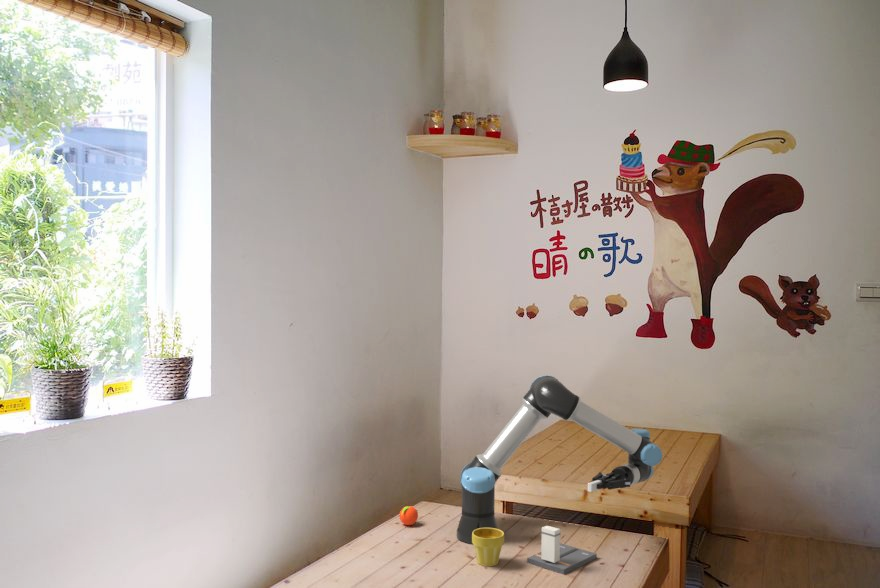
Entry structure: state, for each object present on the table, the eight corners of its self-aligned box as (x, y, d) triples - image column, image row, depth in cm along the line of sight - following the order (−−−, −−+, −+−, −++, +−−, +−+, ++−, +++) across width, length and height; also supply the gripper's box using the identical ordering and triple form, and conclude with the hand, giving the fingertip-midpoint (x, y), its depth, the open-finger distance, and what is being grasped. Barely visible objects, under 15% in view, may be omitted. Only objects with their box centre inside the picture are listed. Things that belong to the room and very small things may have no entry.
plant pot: (502, 570, 233) (502, 539, 233) (469, 567, 236) (469, 536, 235) (505, 558, 244) (505, 528, 244) (474, 555, 246) (474, 526, 246)
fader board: (527, 562, 240) (527, 557, 240) (560, 547, 254) (560, 542, 254) (563, 574, 230) (563, 569, 230) (596, 558, 244) (596, 553, 244)
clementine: (409, 529, 271) (409, 510, 271) (393, 526, 275) (394, 507, 275) (421, 524, 278) (421, 505, 278) (406, 520, 282) (406, 502, 282)
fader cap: (541, 558, 238) (541, 527, 238) (546, 556, 240) (547, 525, 240) (554, 562, 234) (554, 531, 234) (560, 560, 237) (560, 529, 236)
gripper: (640, 490, 265) (605, 502, 248) (608, 482, 274) (572, 494, 257) (641, 469, 265) (606, 480, 248) (609, 462, 274) (573, 472, 257)
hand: (589, 487), depth 253 cm, fingers closed
